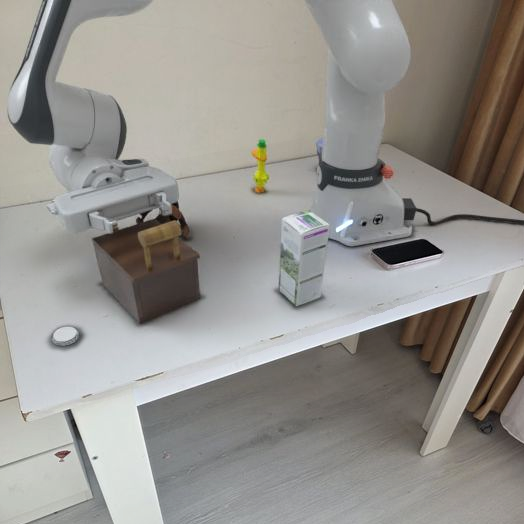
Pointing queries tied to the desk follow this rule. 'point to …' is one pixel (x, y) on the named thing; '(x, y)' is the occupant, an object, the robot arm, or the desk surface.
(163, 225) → the chest lid
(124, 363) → the desk surface
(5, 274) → the desk surface
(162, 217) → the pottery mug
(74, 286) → the desk surface
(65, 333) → the white flat disc
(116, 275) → the box
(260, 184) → the toy figure
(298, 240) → the syrup box
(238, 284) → the desk surface
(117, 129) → the robot arm
